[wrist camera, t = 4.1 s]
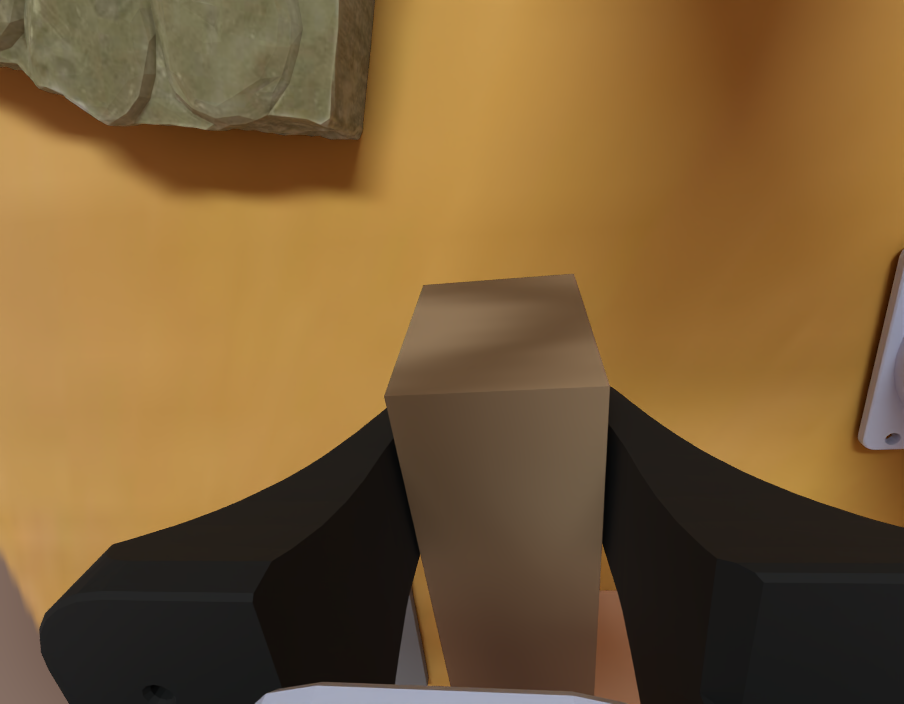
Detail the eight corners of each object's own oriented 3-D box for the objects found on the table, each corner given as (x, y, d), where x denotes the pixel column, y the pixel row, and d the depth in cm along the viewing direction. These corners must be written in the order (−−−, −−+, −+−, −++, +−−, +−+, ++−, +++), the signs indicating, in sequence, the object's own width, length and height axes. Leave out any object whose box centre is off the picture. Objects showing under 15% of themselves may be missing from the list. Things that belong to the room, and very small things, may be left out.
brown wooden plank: (574, 273, 11) (610, 385, 7) (572, 595, 17) (591, 749, 13) (423, 285, 12) (384, 396, 8) (472, 594, 18) (463, 742, 14)
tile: (657, 589, 24) (715, 755, 17) (655, 619, 24) (710, 789, 18) (490, 590, 25) (486, 746, 18) (494, 618, 25) (490, 779, 19)
